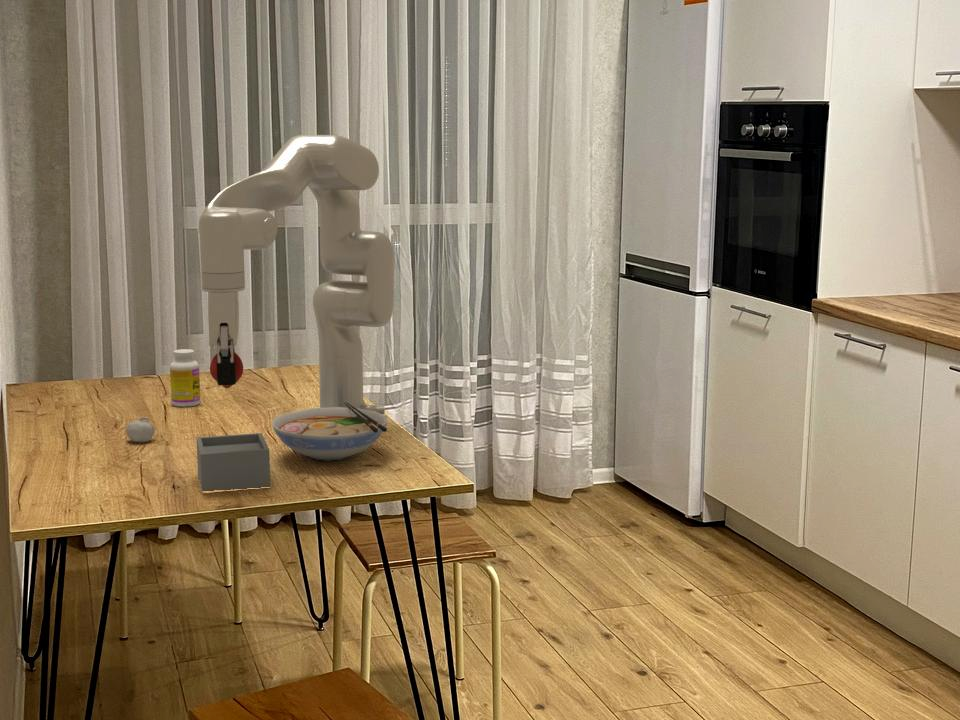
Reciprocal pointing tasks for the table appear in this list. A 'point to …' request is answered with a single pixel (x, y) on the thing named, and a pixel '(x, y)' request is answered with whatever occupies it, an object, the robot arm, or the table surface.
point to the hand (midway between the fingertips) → (227, 379)
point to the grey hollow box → (233, 462)
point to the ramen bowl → (330, 431)
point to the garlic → (140, 430)
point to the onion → (237, 368)
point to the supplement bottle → (185, 379)
